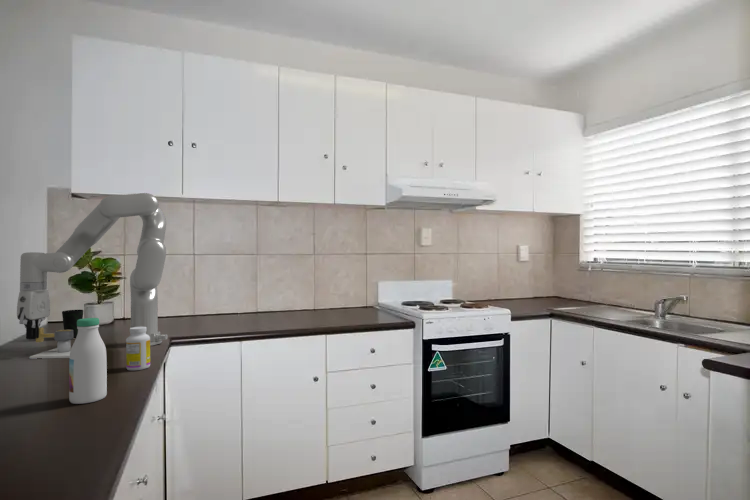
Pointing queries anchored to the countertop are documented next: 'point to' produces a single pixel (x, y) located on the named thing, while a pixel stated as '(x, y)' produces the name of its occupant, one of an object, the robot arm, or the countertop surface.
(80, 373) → the milk bottle
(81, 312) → the cup
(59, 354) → the base plate
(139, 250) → the robot arm
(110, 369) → the countertop surface
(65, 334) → the grey yellow elongated block
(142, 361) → the supplement bottle
